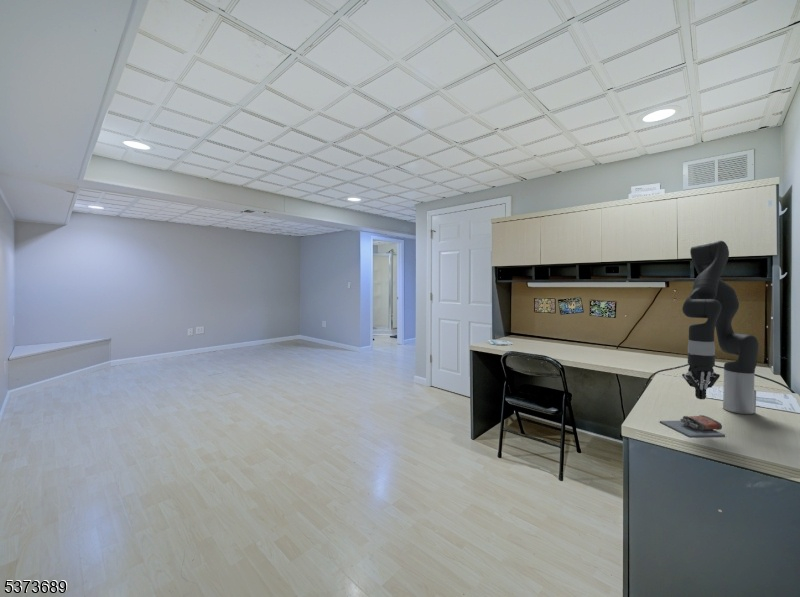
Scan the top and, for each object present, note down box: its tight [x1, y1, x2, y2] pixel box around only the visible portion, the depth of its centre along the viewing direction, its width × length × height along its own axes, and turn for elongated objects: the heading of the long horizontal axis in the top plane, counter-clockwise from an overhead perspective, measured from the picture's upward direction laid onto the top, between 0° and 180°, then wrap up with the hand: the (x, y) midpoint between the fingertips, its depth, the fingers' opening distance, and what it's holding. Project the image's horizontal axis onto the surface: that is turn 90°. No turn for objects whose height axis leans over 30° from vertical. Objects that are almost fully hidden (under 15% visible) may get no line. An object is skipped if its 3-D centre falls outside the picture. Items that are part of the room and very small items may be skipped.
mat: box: [659, 420, 726, 438], centre depth 124 cm, size 13×13×1 cm
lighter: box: [680, 414, 723, 431], centre depth 124 cm, size 8×3×10 cm
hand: (700, 398), depth 124 cm, fingers closed
